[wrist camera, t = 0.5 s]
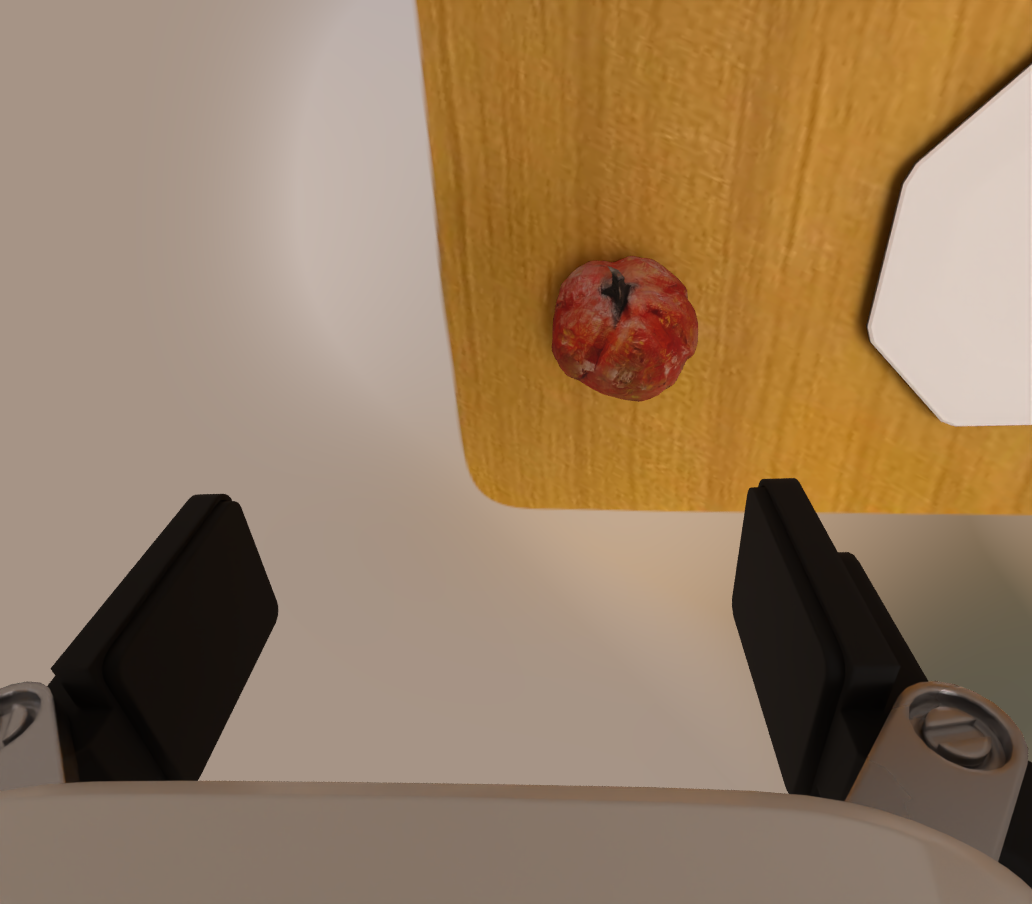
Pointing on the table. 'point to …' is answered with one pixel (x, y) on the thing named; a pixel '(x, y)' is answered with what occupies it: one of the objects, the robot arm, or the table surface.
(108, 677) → the robot arm
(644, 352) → the pomegranate
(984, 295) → the plate
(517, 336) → the table surface
